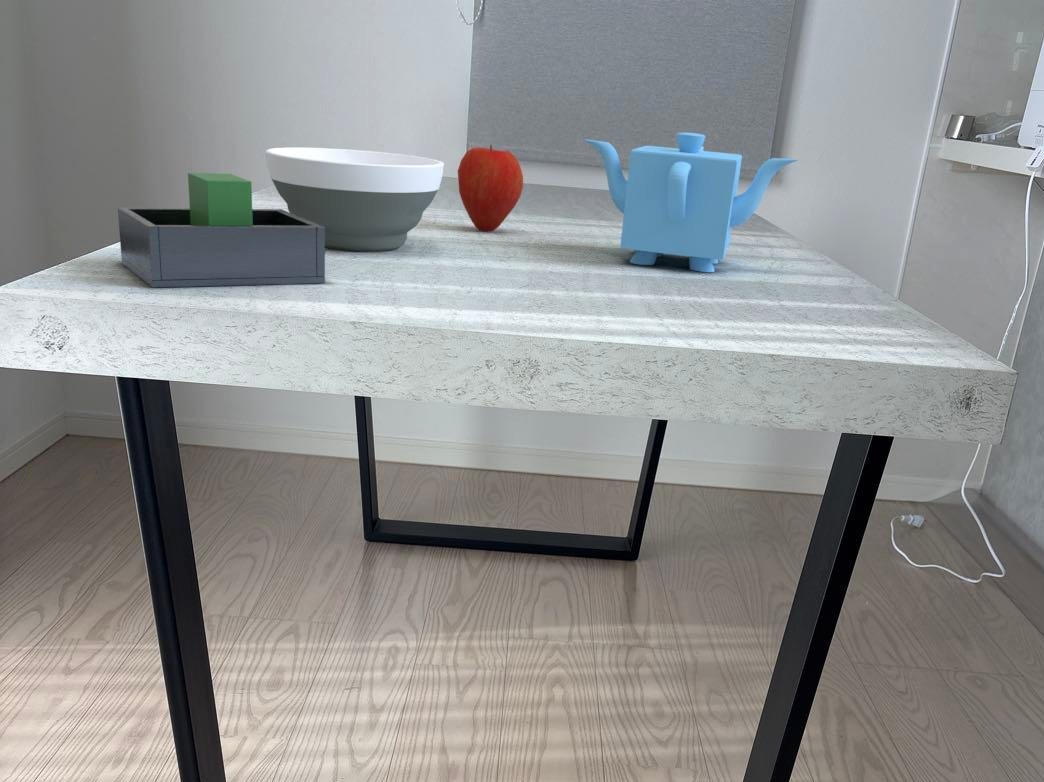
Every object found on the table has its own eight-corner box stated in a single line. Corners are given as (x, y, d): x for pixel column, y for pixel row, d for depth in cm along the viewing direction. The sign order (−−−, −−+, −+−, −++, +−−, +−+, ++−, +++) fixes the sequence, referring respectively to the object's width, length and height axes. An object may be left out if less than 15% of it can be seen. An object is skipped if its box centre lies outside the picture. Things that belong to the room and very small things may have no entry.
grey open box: (152, 287, 90) (148, 226, 88) (121, 263, 99) (117, 207, 97) (325, 283, 98) (325, 226, 96) (282, 261, 107) (281, 209, 105)
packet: (254, 272, 97) (251, 181, 94) (210, 273, 95) (206, 180, 92) (234, 260, 102) (231, 173, 99) (192, 261, 100) (187, 172, 97)
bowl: (447, 263, 114) (451, 170, 110) (260, 252, 111) (258, 156, 107) (434, 236, 132) (437, 155, 128) (273, 227, 128) (272, 143, 125)
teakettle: (664, 278, 116) (682, 136, 111) (568, 249, 131) (579, 122, 125) (785, 274, 126) (808, 144, 121) (684, 248, 140) (700, 130, 135)
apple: (530, 232, 142) (537, 147, 138) (497, 237, 135) (503, 148, 131) (477, 224, 146) (482, 141, 142) (442, 228, 139) (446, 141, 135)
